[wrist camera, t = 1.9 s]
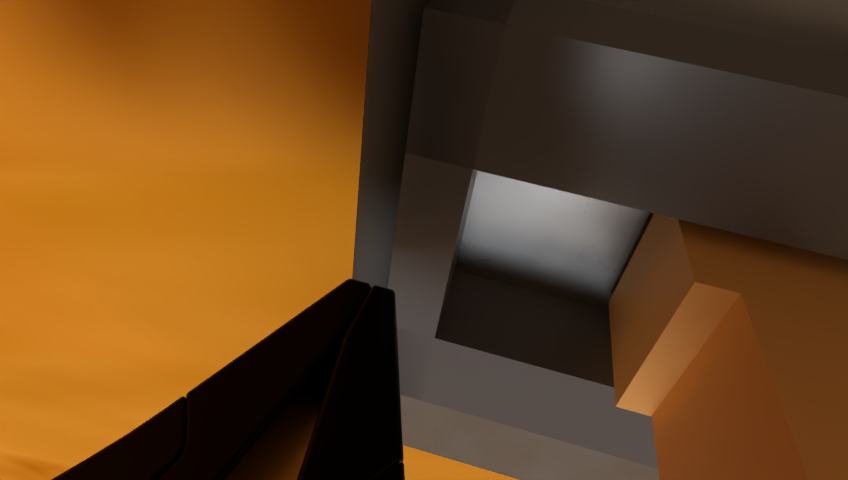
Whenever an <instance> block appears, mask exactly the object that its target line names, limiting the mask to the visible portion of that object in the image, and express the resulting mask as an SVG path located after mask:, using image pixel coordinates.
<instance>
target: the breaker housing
mask: <svg viewBox="0 0 848 480" xmlns="http://www.w3.org/2000/svg"><path fill="white" fill-rule="evenodd" d="M477 171H481V172H485V173H490V174H494V175H498V176H502V177H506V178H510V179H514V180H519V181H523V182H527V183H531V184H535V185H539V186H544V187H548V188H552V189H556V190H560V191H564V192H568V193H573V194H577V195H581V196H585V197H589V198H593V199H597V200H602V201H606V202H610V203H614V204H618V205H622V206H626V207H631V208H635V209H639V210H643V211H647V212H651V213H656V214H660V215H664V216H668V217H672V218H676V219H680V220H685V221H689V222H693V223H697V224H701V225H705V226H709V227H714V228H718V229H722V230H726V231H730V232H734V233H739V234H743V235H747V236H751V237H755V238H759V239H763V240H768V241H772V242H776V243H780V244H784V245H788V246H792V247H797V248H801V249H805V250H809V251H813V252H817V253H821V254H826V255H830V256H834V257H838V258H842V259H846V260H848V55H843V54H838V53H833V52H828V51H823V50H818V49H813V48H809V47H804V46H799V45H794V44H789V43H784V42H779V41H774V40H769V39H765V38H760V37H755V36H750V35H745V34H740V33H735V32H730V31H726V30H721V29H716V28H711V27H706V26H701V25H696V24H691V23H686V22H682V21H677V20H672V19H667V18H662V17H657V16H652V15H647V14H643V13H638V12H633V11H628V10H623V9H618V8H613V7H608V6H603V5H599V4H594V3H589V2H584V1H579V0H431V1H430V2H429V3H428V4H427V5H426V6H425V7H424V11H423V19H422V27H421V34H420V42H419V50H418V58H417V65H416V73H415V81H414V89H413V96H412V104H411V112H410V120H409V127H408V135H407V143H406V151H405V158H404V166H403V174H402V182H401V189H400V197H399V205H398V213H397V220H396V228H395V236H394V244H393V251H392V259H391V267H390V275H389V282H388V289H392V290H394V292H395V298H396V318H397V338H398V359H399V379H400V395H403V396H407V397H410V398H414V399H417V400H421V401H424V402H428V403H431V404H434V405H438V406H441V407H445V408H448V409H452V410H455V411H459V412H462V413H466V414H469V415H473V416H476V417H480V418H483V419H487V420H490V421H494V422H497V423H500V424H504V425H507V426H511V427H514V428H518V429H521V430H525V431H528V432H532V433H535V434H539V435H542V436H546V437H549V438H553V439H556V440H560V441H563V442H566V443H570V444H573V445H577V446H580V447H584V448H587V449H591V450H594V451H598V452H601V453H605V454H608V455H612V456H615V457H619V458H622V459H626V460H629V461H632V462H636V463H639V464H643V465H646V466H650V467H653V468H657V469H658V465H657V457H656V449H655V441H654V434H653V426H652V418H651V416H648V415H644V414H640V413H637V412H633V411H630V410H626V409H622V408H619V407H615V392H614V377H613V362H612V347H611V332H610V317H609V310H606V309H602V308H598V307H594V306H590V305H586V304H583V303H579V302H575V301H571V300H567V299H563V298H560V297H556V296H552V295H548V294H544V293H540V292H537V291H533V290H529V289H525V288H521V287H517V286H514V285H510V284H506V283H502V282H498V281H495V280H491V279H487V278H483V277H479V276H475V275H472V274H468V273H464V272H460V271H456V270H455V265H456V261H457V257H458V252H459V248H460V244H461V240H462V235H463V231H464V227H465V223H466V218H467V214H468V210H469V205H470V201H471V197H472V193H473V188H474V184H475V180H476V175H477Z"/></svg>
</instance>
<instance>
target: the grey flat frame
mask: <svg viewBox="0 0 848 480" xmlns="http://www.w3.org/2000/svg"><path fill="white" fill-rule="evenodd" d="M430 1H431V0H372V2H371V16H370V31H369V45H368V60H367V74H366V89H365V103H364V118H363V132H362V147H361V161H360V176H359V190H358V205H357V219H356V234H355V248H354V263H353V277H352V279H355V280H358V281H362V282H366V283H369V284H370V285H371V287H372V286H374V285H377V286H381V287H385V288H388V282H389V275H390V267H391V259H392V251H393V244H394V236H395V228H396V220H397V213H398V205H399V197H400V189H401V182H402V174H403V166H404V158H405V151H406V143H407V135H408V127H409V120H410V112H411V104H412V96H413V89H414V81H415V73H416V65H417V58H418V50H419V42H420V34H421V27H422V19H423V11H424V7H425V6H426V5H427V4H428V3H429V2H430Z"/></svg>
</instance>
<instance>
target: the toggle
mask: <svg viewBox="0 0 848 480" xmlns="http://www.w3.org/2000/svg"><path fill="white" fill-rule="evenodd" d="M609 317H610V332H611V347H612V362H613V377H614V392H615V407H619V408H622V409H626V410H630V411H633V412H637V413H640V414H644V415H648V416H651V418H652V426H653V434H654V441H655V449H656V457H657V465H658V473H659V480H848V260H846V259H842V258H838V257H834V256H830V255H826V254H821V253H817V252H813V251H809V250H805V249H801V248H797V247H792V246H788V245H784V244H780V243H776V242H772V241H768V240H763V239H759V238H755V237H751V236H747V235H743V234H739V233H734V232H730V231H726V230H722V229H718V228H714V227H709V226H705V225H701V224H697V223H693V222H689V221H685V220H680V219H676V218H672V217H668V216H664V215H660V214H656V213H654V215H653V217H652V219H651V221H650V223H649V224H648V226H647V228H646V230H645V232H644V234H643V236H642V238H641V240H640V242H639V244H638V246H637V248H636V250H635V252H634V254H633V256H632V258H631V260H630V262H629V264H628V266H627V267H626V269H625V271H624V273H623V275H622V277H621V279H620V281H619V283H618V285H617V287H616V289H615V291H614V293H613V295H612V297H611V299H610V301H609Z"/></svg>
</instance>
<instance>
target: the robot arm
mask: <svg viewBox="0 0 848 480" xmlns="http://www.w3.org/2000/svg"><path fill="white" fill-rule="evenodd" d="M52 480H405V476H404V464H403V440H402V420H401V399H400V379H399V359H398V338H397V318H396V298H395V292H394V290H392V289H388V288H385V287H381V286H377V285H374V286H372V287H371V285H370V284H369V283H366V282H362V281H358V280H355V279H348V280H346V281H345V282H343V283H342V284H340V285H339V286H338V287H336V288H335V289H333V290H332V291H331V292H329V293H328V294H326V295H325V296H324V297H322V298H321V299H319V300H318V301H316V302H315V303H314V304H312V305H311V306H309V307H308V308H307V309H305V310H304V311H302V312H301V313H300V314H298V315H297V316H295V317H294V318H292V319H291V320H290V321H288V322H287V323H285V324H284V325H283V326H281V327H280V328H278V329H277V330H276V331H274V332H273V333H271V334H270V335H269V336H267V337H266V338H264V339H263V340H261V341H260V342H259V343H257V344H256V345H254V346H253V347H252V348H250V349H249V350H247V351H246V352H245V353H243V354H242V355H240V356H239V357H237V358H236V359H235V360H233V361H232V362H230V363H229V364H228V365H226V366H225V367H223V368H222V369H221V370H219V371H218V372H216V373H215V374H213V375H212V376H211V377H209V378H208V379H206V380H205V381H204V382H202V383H201V384H199V385H198V386H197V387H195V388H194V389H192V390H191V391H189V392H188V393H187V395H186V397H184V396H183V397H181V398H179V399H178V400H176V401H175V402H174V403H172V404H171V405H169V406H168V407H167V408H165V409H164V410H162V411H161V412H159V413H158V414H156V415H155V416H153V417H152V418H151V419H149V420H148V421H146V422H145V423H143V424H142V425H140V426H139V427H137V428H136V429H134V430H133V431H131V432H130V433H128V434H127V435H125V436H123V437H122V438H120V439H119V440H117V441H115V442H114V443H112V444H110V445H109V446H107V447H105V448H104V449H102V450H101V451H99V452H97V453H96V454H94V455H92V456H91V457H89V458H87V459H86V460H84V461H82V462H81V463H79V464H77V465H76V466H74V467H72V468H70V469H69V470H67V471H65V472H64V473H62V474H60V475H58V476H57V477H55V478H53V479H52Z"/></svg>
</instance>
